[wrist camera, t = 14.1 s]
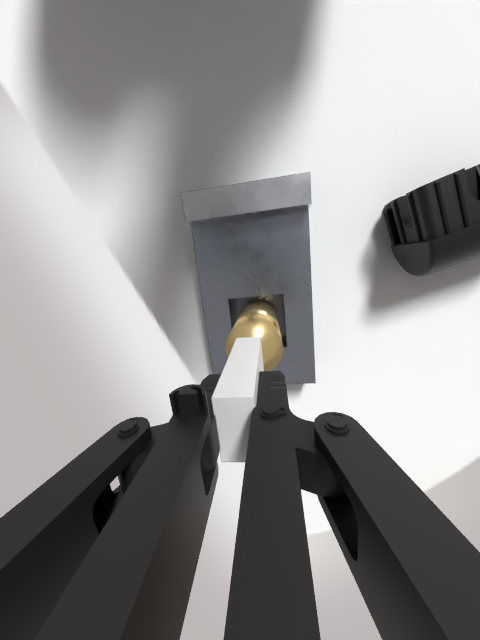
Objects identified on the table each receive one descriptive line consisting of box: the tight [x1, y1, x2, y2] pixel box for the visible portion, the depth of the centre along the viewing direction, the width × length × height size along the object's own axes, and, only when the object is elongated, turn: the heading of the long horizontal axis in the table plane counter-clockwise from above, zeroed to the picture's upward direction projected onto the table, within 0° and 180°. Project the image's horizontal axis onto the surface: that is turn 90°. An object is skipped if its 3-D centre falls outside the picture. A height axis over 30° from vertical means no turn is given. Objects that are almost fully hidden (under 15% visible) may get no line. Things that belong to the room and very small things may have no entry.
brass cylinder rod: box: [226, 300, 283, 371], centre depth 21 cm, size 4×4×10 cm
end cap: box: [384, 164, 480, 276], centre depth 20 cm, size 10×7×7 cm
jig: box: [181, 172, 315, 384], centre depth 24 cm, size 20×11×5 cm, turn 6°
